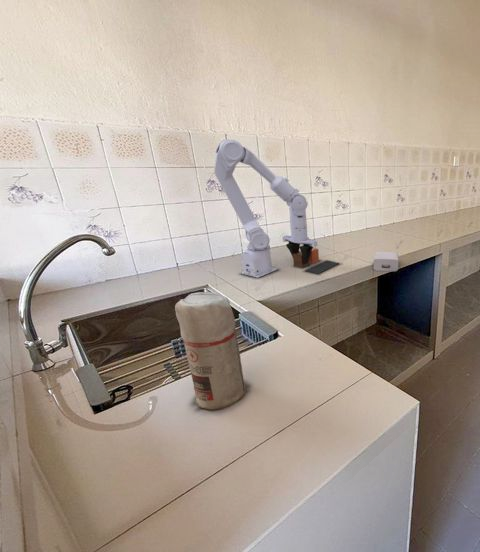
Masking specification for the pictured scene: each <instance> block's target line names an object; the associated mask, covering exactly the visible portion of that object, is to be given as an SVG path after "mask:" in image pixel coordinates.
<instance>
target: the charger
mask: <svg viewBox="0 0 480 552" xmlns="http://www.w3.org/2000/svg"><path fill="white" fill-rule="evenodd" d="M373 270H374V271H376V272H397V271H398V270H399V253H397V252H395V251H394V252H392V251H376V252H374V256H373Z"/></svg>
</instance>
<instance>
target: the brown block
mask: <svg viewBox="0 0 480 552" xmlns="http://www.w3.org/2000/svg"><path fill="white" fill-rule="evenodd" d="M292 261H293V267H295V268H300V269H303V268H305V267H308V266H310V263H309V262H308V263H306V264H304V263H303V258H302V253H301V250H299V252H296V253H293V257H292Z"/></svg>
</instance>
